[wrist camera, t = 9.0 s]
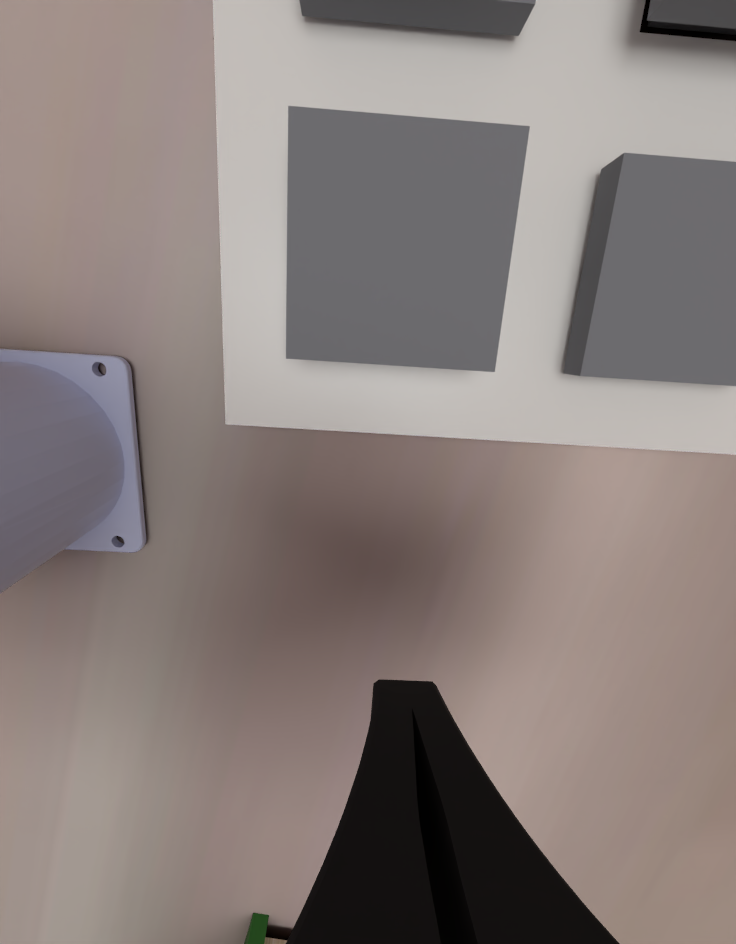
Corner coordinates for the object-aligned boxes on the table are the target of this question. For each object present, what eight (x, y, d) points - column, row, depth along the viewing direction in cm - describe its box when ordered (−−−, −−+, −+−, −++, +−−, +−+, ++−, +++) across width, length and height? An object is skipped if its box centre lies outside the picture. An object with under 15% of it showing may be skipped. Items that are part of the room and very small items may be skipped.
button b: (540, 369, 17) (580, 376, 14) (571, 190, 15) (624, 152, 12) (693, 379, 17) (765, 387, 14) (741, 203, 15) (835, 169, 12)
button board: (240, 415, 17) (225, 424, 15) (225, -332, 12) (199, -465, 10) (729, 444, 18) (772, 456, 16) (940, -247, 12) (1048, -356, 10)
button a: (299, 355, 15) (285, 358, 12) (304, 157, 14) (288, 105, 11) (469, 366, 16) (494, 372, 13) (493, 172, 14) (529, 125, 11)
